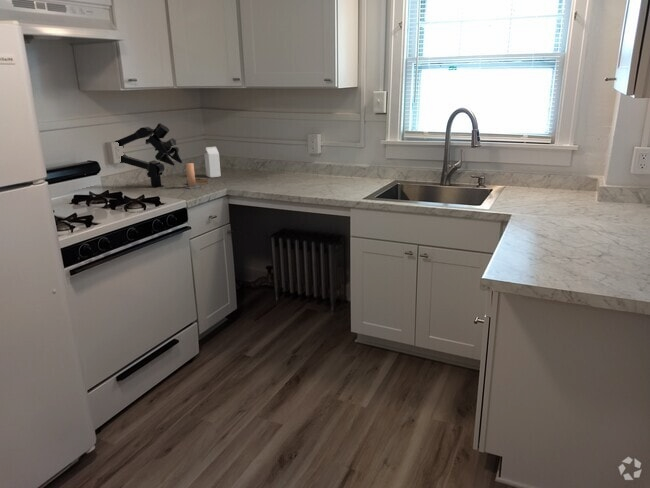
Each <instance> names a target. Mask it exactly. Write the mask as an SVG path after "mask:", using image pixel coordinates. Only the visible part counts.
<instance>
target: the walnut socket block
mask: <svg viewBox="0 0 650 488" xmlns="http://www.w3.org/2000/svg"><path fill="white" fill-rule="evenodd" d="M208 179H209V178H208ZM208 179H207V178H204V177H203V178H202V177H195V182H196V185H198V186H202V185H207V184H209V180H208ZM186 185H188V181H187V180H186Z"/></svg>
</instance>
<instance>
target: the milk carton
mask: <svg viewBox="0 0 650 488" xmlns="http://www.w3.org/2000/svg"><path fill="white" fill-rule="evenodd" d="M204 150H205V151H204V154H203V155H204V164H205V165H204V166H205V174H206V175H205V176H206V177H208V178H217V177H218V178H219V177H222V176H221V164H220V162H221V161H220V153H219V150H218V148H217V146H207V147H206V146H205V149H204Z"/></svg>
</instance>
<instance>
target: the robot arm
mask: <svg viewBox="0 0 650 488" xmlns="http://www.w3.org/2000/svg"><path fill="white" fill-rule="evenodd" d="M169 132H170V129H169V127H168V126H166V125H164V124H162V123H161V122H160V123H159V122H158V124H157V125H156V127H155V128H151V127H150V126H144V127H140V128H139V129H137V130H136V131H134V132H133V133H132V134H129V135H127V136H125V137H122V138H120V139H117V140H115V141H114V142H118V143H119V146H123V148H124V146H126V145H128V144H130V143H133V142H135V141H138V140H139V139H140V140H141V139H145V138H146V139H145V145H152V147H153V148H154V151H155V152H156V151H157V152H156V155H155V157H154V158H155V160H150V161H145V160H141V159H138V158H135V157H131V156H128V155H126V154H125V153H124V155H123V156H121V162H120V163H119V164H126V165H130V166H132V167H137V168H140V169H144V170H145V171H148V172H146V175H147V178H149V179H150V185H148V187H150V188H154V189H155V188H160V187H161V188H162V187H164V184H162V181H161V180H162V179H161V176H163V172H164V171H165V165H164V164H163V163H165V164H168V165H170V166H175V163H174V161H176V162H177V163H179V164H182V163H183V161H182V159H181V157H180V155H179V151H180V148H179V147H178V146H175V145H177V140H176V139H174V138H173V137H172V138H171V139H170V138H169V140H167V141H162V139H165V136H167V135H168V134H169ZM124 149H125V148H124ZM173 160H174V161H173Z"/></svg>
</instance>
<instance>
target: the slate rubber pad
mask: <svg viewBox="0 0 650 488" xmlns="http://www.w3.org/2000/svg"><path fill="white" fill-rule="evenodd" d="M201 186H202V185H196V186H194V187H188V185H184V186H183V188H184V189H187V188H188V190H192V189H193V190H194V189H200V188H201Z"/></svg>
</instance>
